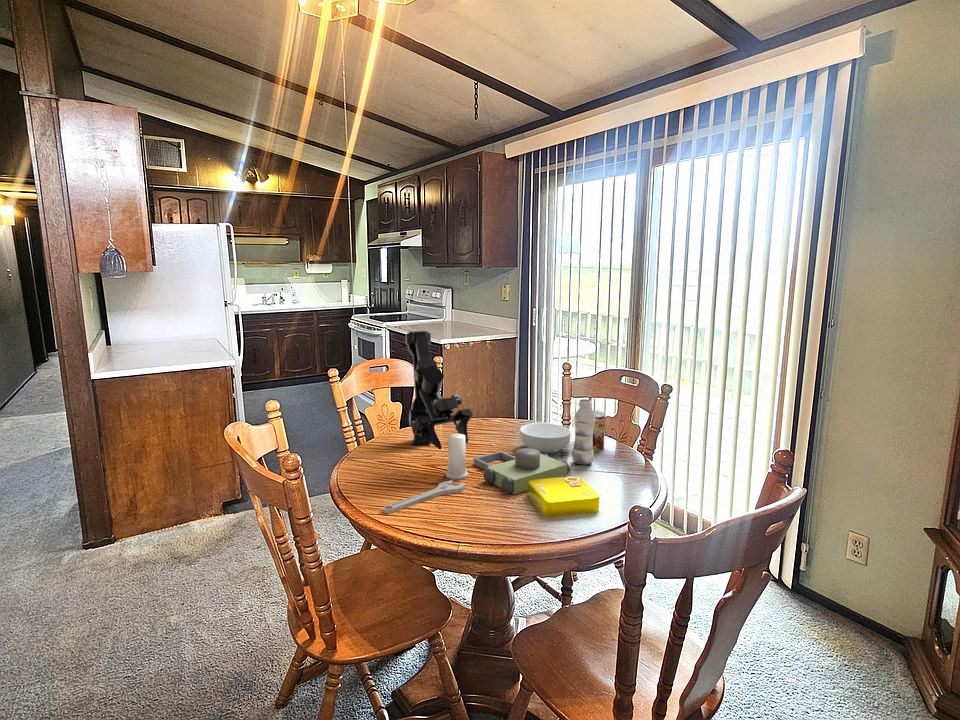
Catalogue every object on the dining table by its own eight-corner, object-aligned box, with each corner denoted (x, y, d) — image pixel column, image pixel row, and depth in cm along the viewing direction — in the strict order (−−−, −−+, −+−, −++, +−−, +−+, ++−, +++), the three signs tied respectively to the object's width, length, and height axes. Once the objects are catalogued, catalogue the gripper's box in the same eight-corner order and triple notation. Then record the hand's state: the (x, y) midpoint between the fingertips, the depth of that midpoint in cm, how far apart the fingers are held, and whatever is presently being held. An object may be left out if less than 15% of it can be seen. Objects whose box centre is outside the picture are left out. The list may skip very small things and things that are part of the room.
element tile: (525, 494, 146) (526, 477, 146) (577, 489, 150) (578, 473, 149) (544, 519, 132) (545, 500, 131) (601, 513, 135) (602, 495, 134)
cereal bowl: (558, 462, 170) (559, 440, 169) (510, 453, 178) (511, 432, 177) (577, 447, 184) (578, 426, 183) (532, 439, 192) (532, 419, 191)
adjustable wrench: (386, 517, 133) (386, 510, 133) (374, 508, 138) (373, 501, 138) (468, 490, 148) (468, 484, 148) (454, 483, 153) (454, 477, 153)
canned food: (601, 453, 178) (603, 417, 176) (577, 449, 181) (579, 415, 179) (605, 446, 185) (607, 411, 183) (582, 443, 188) (584, 409, 186)
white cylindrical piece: (447, 471, 161) (446, 432, 159) (468, 472, 161) (468, 433, 159) (444, 479, 155) (444, 439, 153) (466, 480, 155) (467, 439, 153)
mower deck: (458, 468, 164) (458, 442, 163) (514, 453, 177) (515, 429, 176) (510, 495, 145) (511, 466, 143) (569, 476, 158) (570, 450, 156)
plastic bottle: (568, 460, 171) (570, 399, 167) (587, 458, 173) (589, 397, 169) (577, 468, 165) (580, 403, 161) (597, 465, 167) (600, 402, 163)
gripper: (415, 390, 153) (437, 437, 146) (469, 382, 164) (491, 425, 157) (402, 411, 161) (422, 457, 154) (455, 402, 172) (475, 445, 165)
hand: (454, 445), depth 157 cm, fingers open, 9 cm apart
